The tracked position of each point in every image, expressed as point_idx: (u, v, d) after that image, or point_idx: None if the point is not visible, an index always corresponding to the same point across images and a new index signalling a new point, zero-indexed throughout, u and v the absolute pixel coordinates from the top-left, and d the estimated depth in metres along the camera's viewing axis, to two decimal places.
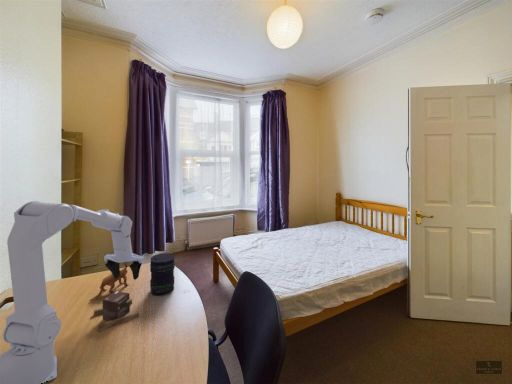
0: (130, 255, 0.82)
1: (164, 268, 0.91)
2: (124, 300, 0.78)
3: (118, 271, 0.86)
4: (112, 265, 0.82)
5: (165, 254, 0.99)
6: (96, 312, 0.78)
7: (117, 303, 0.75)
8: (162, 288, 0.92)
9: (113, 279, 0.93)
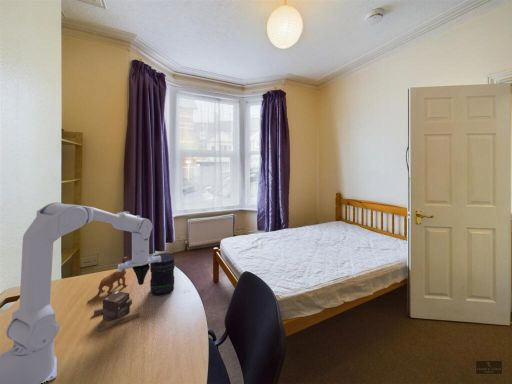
0: (148, 257, 0.84)
1: (164, 268, 0.91)
2: (124, 300, 0.78)
3: None
4: None
5: (165, 254, 0.99)
6: (96, 312, 0.78)
7: (117, 303, 0.75)
8: (162, 288, 0.92)
9: (111, 280, 0.92)
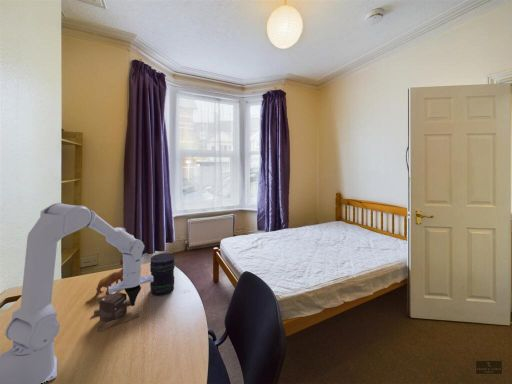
0: (140, 277, 0.83)
1: (164, 268, 0.91)
2: (121, 300, 0.77)
3: None
4: None
5: (165, 254, 0.99)
6: (96, 312, 0.78)
7: (113, 304, 0.74)
8: (162, 288, 0.92)
9: (110, 281, 0.91)
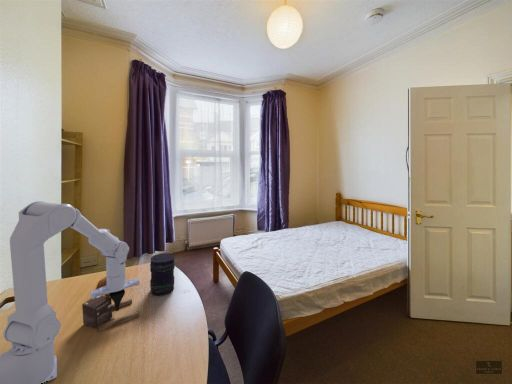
0: None
1: (164, 268, 0.91)
2: (104, 305, 0.74)
3: None
4: None
5: (165, 254, 0.99)
6: None
7: (95, 309, 0.71)
8: (162, 288, 0.92)
9: None
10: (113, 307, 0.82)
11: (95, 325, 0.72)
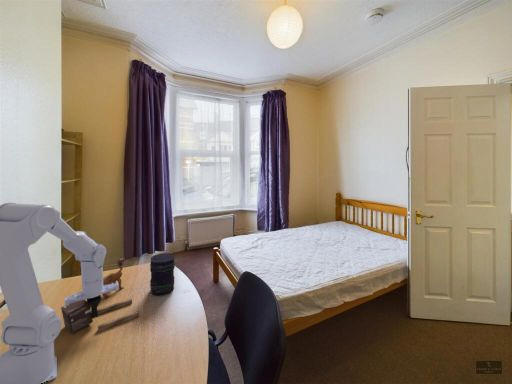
0: (103, 286, 0.75)
1: (164, 268, 0.91)
2: (80, 311, 0.70)
3: None
4: None
5: (165, 254, 0.99)
6: None
7: (68, 315, 0.68)
8: (162, 288, 0.92)
9: (107, 282, 0.90)
10: (113, 307, 0.82)
11: (70, 331, 0.69)
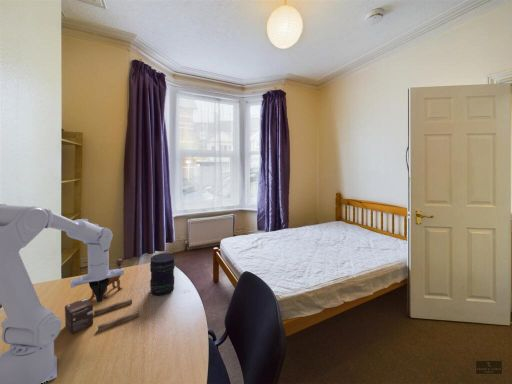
0: (108, 270, 0.75)
1: (164, 268, 0.91)
2: (83, 311, 0.71)
3: None
4: (98, 285, 0.73)
5: (165, 254, 0.99)
6: (96, 312, 0.78)
7: (71, 314, 0.68)
8: (162, 288, 0.92)
9: None
10: (113, 307, 0.82)
11: (70, 331, 0.69)
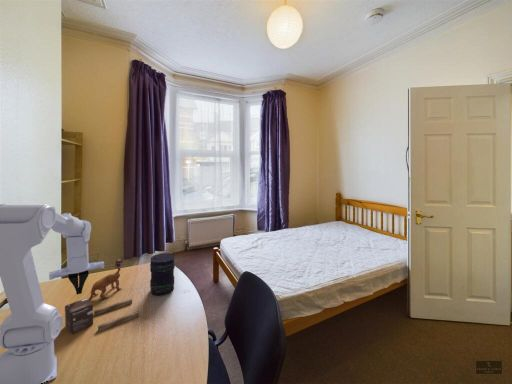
0: (88, 263, 0.76)
1: (164, 268, 0.91)
2: (83, 311, 0.71)
3: None
4: None
5: (165, 254, 0.99)
6: (96, 312, 0.78)
7: (71, 314, 0.68)
8: (162, 288, 0.92)
9: (104, 283, 0.89)
10: (113, 307, 0.82)
11: (70, 331, 0.69)
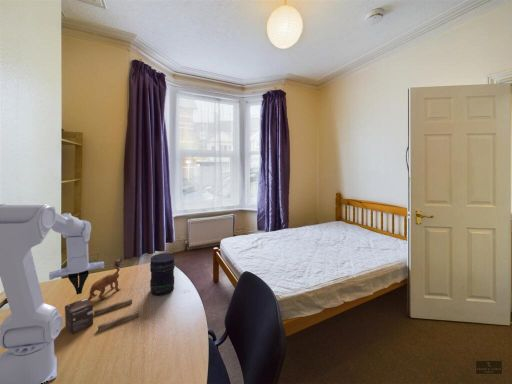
0: (88, 263, 0.76)
1: (164, 268, 0.91)
2: (83, 311, 0.71)
3: None
4: None
5: (165, 254, 0.99)
6: (96, 312, 0.78)
7: (71, 314, 0.68)
8: (162, 288, 0.92)
9: (103, 284, 0.89)
10: (113, 307, 0.82)
11: (70, 331, 0.69)
